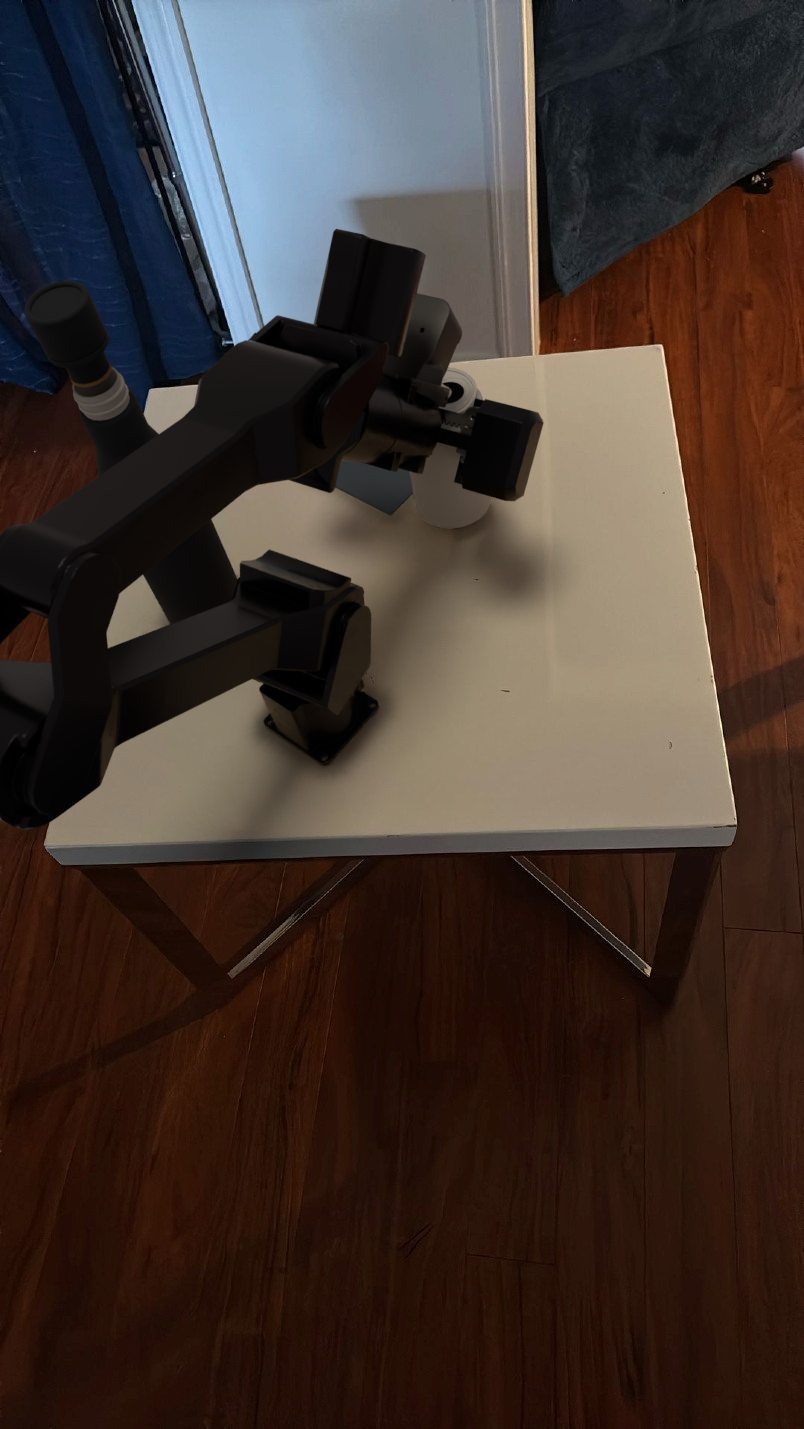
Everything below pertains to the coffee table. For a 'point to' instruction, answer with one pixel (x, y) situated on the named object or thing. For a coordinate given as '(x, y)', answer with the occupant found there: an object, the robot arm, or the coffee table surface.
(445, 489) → the beverage can
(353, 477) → the felt pad
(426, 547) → the coffee table surface
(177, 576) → the wine bottle
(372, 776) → the coffee table surface
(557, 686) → the coffee table surface
